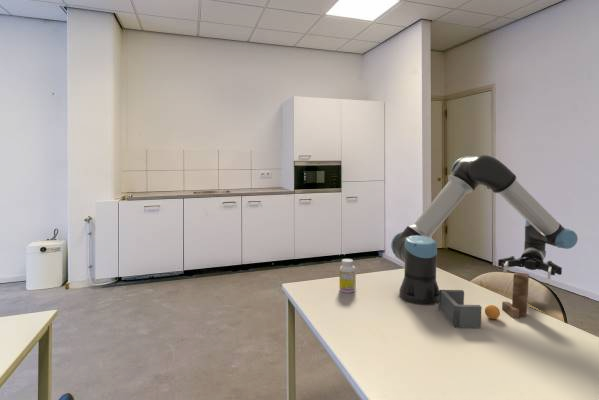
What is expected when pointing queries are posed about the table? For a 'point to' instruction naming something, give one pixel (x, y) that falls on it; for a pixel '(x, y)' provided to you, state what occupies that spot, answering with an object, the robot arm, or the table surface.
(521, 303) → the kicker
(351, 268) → the supplement bottle
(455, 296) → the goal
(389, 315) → the table surface
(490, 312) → the ball
